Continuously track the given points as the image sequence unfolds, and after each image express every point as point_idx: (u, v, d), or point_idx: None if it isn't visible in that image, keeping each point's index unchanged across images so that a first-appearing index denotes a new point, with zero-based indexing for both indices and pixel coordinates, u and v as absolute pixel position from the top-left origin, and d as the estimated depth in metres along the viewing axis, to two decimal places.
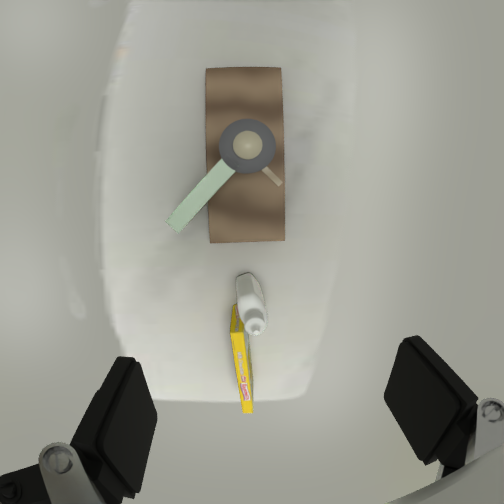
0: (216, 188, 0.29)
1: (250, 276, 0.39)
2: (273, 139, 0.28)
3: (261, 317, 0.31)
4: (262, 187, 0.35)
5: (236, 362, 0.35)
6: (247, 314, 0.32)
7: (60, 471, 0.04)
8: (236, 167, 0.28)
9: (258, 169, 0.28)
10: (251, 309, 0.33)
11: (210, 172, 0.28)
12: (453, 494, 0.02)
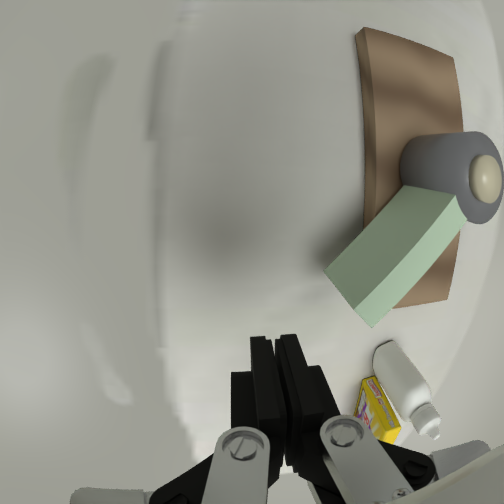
0: (442, 247, 0.14)
1: (399, 347, 0.24)
2: (502, 173, 0.12)
3: (438, 414, 0.16)
4: None
5: None
6: (421, 412, 0.17)
7: (236, 456, 0.05)
8: (469, 212, 0.13)
9: (488, 218, 0.13)
10: (422, 404, 0.18)
11: (439, 218, 0.13)
12: (453, 494, 0.02)
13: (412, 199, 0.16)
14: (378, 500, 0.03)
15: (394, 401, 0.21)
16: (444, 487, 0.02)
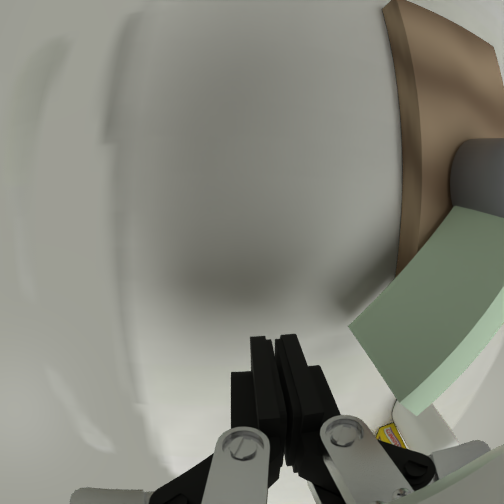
0: None
1: None
2: None
3: None
4: None
5: None
6: None
7: (236, 456, 0.05)
8: None
9: None
10: None
11: None
12: (453, 494, 0.02)
13: (473, 228, 0.10)
14: (378, 500, 0.03)
15: None
16: (444, 487, 0.02)
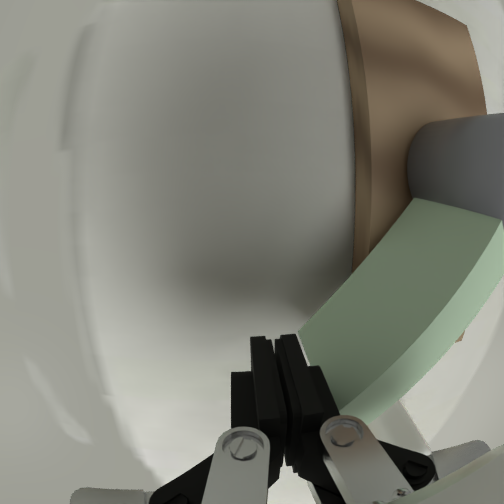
0: (478, 307, 0.07)
1: (398, 400, 0.17)
2: None
3: None
4: None
5: None
6: None
7: (237, 456, 0.05)
8: None
9: None
10: None
11: (478, 264, 0.07)
12: (453, 494, 0.02)
13: (430, 223, 0.10)
14: (378, 500, 0.03)
15: None
16: (444, 487, 0.02)
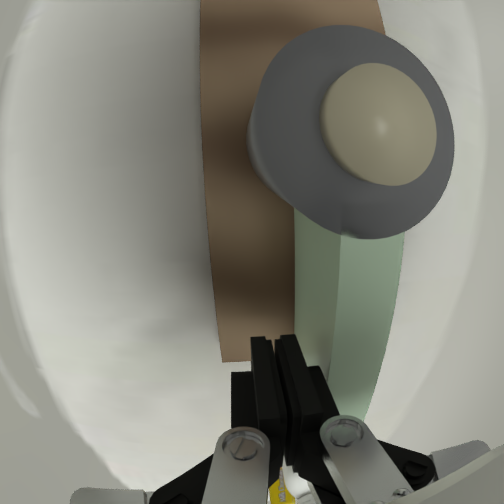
0: (387, 317, 0.08)
1: None
2: (408, 54, 0.05)
3: None
4: None
5: None
6: (307, 501, 0.11)
7: (237, 456, 0.05)
8: (398, 218, 0.07)
9: (447, 171, 0.06)
10: None
11: (342, 301, 0.07)
12: (453, 494, 0.02)
13: (307, 241, 0.11)
14: (378, 500, 0.03)
15: None
16: (444, 487, 0.02)
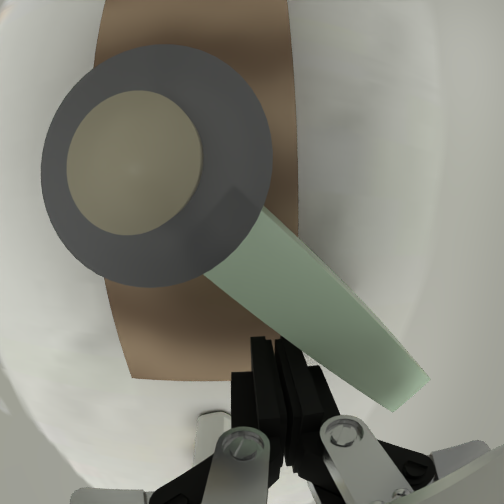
0: (334, 290, 0.07)
1: (221, 425, 0.17)
2: (114, 60, 0.05)
3: None
4: None
5: None
6: None
7: (236, 456, 0.05)
8: (241, 207, 0.06)
9: (252, 104, 0.05)
10: None
11: (266, 316, 0.07)
12: (453, 494, 0.02)
13: None
14: (378, 500, 0.03)
15: None
16: (444, 487, 0.02)
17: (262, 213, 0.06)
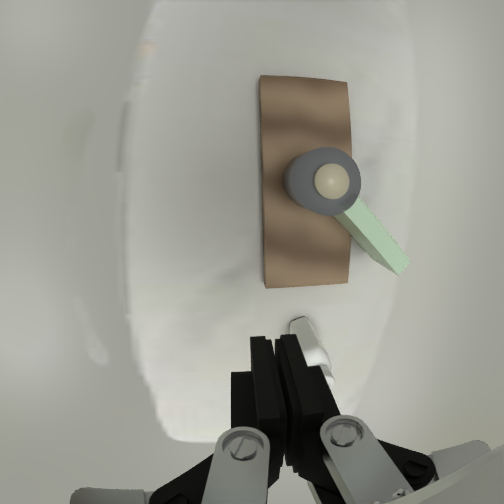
0: (374, 218, 0.24)
1: (307, 322, 0.34)
2: (321, 149, 0.22)
3: (330, 374, 0.26)
4: (327, 224, 0.30)
5: None
6: None
7: (236, 456, 0.05)
8: (353, 195, 0.23)
9: (356, 169, 0.22)
10: None
11: (358, 225, 0.24)
12: (453, 494, 0.02)
13: (338, 215, 0.27)
14: (378, 500, 0.03)
15: None
16: (444, 487, 0.02)
17: (358, 196, 0.23)
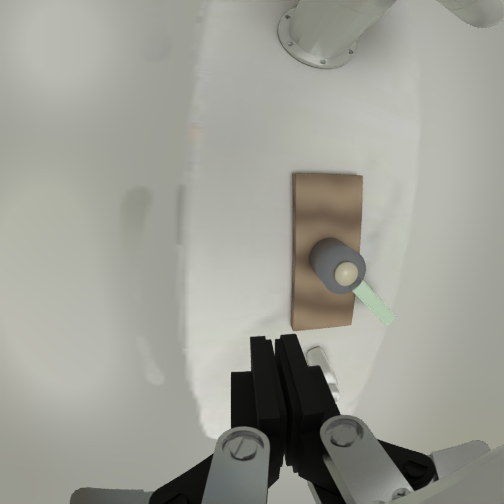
0: (372, 293, 0.35)
1: (321, 351, 0.45)
2: (340, 251, 0.33)
3: (337, 390, 0.37)
4: None
5: None
6: None
7: (236, 456, 0.05)
8: (359, 279, 0.34)
9: (363, 262, 0.33)
10: (328, 384, 0.39)
11: (361, 298, 0.35)
12: (453, 494, 0.02)
13: None
14: (378, 500, 0.03)
15: None
16: (444, 487, 0.02)
17: (362, 280, 0.34)
